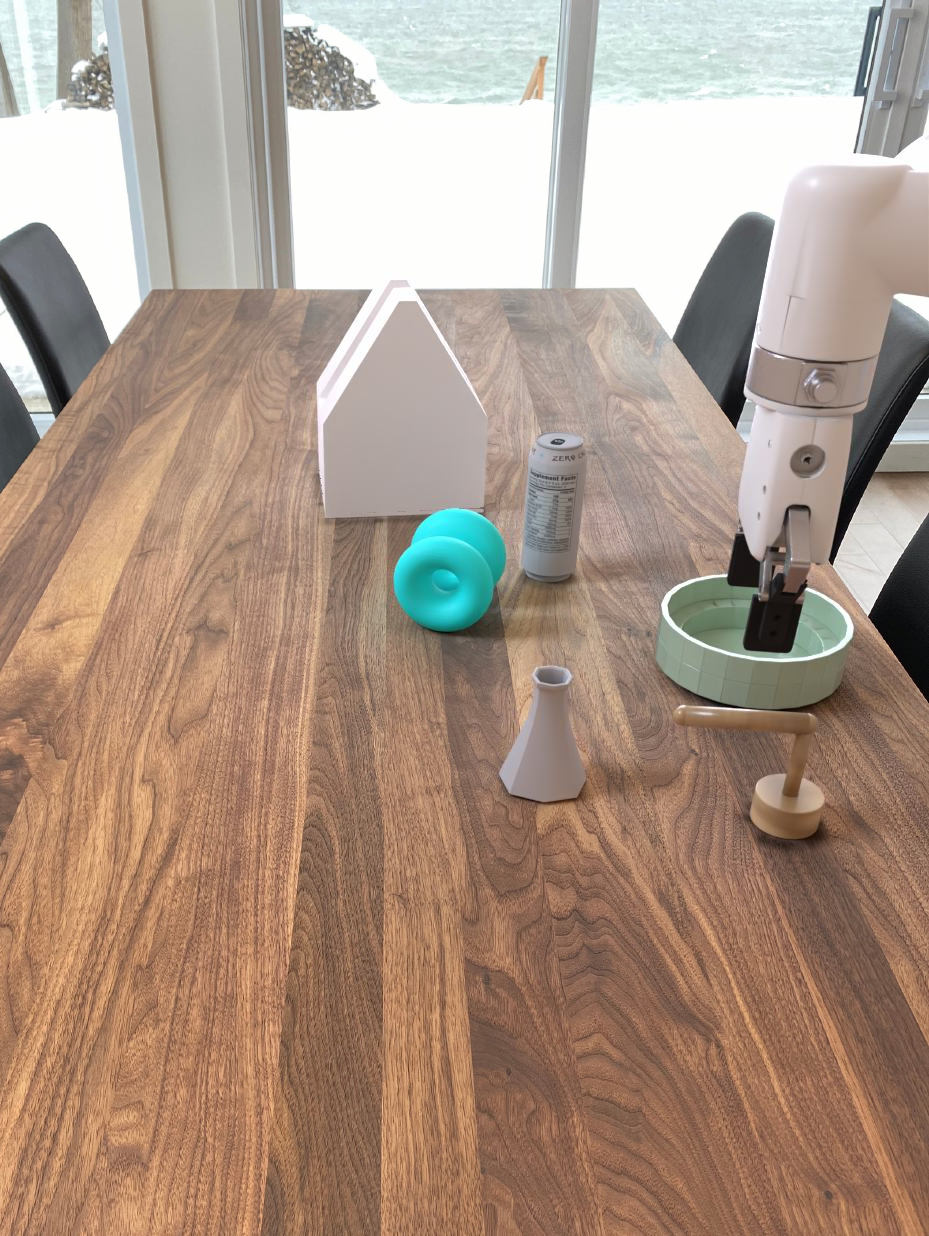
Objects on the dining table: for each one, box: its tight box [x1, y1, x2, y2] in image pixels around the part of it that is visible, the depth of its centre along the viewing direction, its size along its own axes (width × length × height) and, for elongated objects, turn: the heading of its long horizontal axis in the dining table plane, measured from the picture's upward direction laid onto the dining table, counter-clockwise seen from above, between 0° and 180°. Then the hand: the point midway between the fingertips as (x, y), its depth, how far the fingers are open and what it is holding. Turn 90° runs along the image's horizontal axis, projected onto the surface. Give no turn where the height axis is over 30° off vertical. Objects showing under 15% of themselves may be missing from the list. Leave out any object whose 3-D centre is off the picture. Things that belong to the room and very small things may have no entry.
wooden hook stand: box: [672, 704, 826, 840], centre depth 91 cm, size 12×5×10 cm, turn 82°
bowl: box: [653, 573, 855, 710], centre depth 111 cm, size 17×17×6 cm
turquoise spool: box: [393, 508, 507, 633], centre depth 119 cm, size 10×10×10 cm
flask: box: [498, 665, 587, 803], centre depth 95 cm, size 7×7×10 cm
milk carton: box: [316, 267, 489, 519], centre depth 142 cm, size 19×15×25 cm
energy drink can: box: [520, 431, 589, 583], centre depth 126 cm, size 6×6×15 cm
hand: (756, 616), depth 84 cm, fingers open, 9 cm apart
